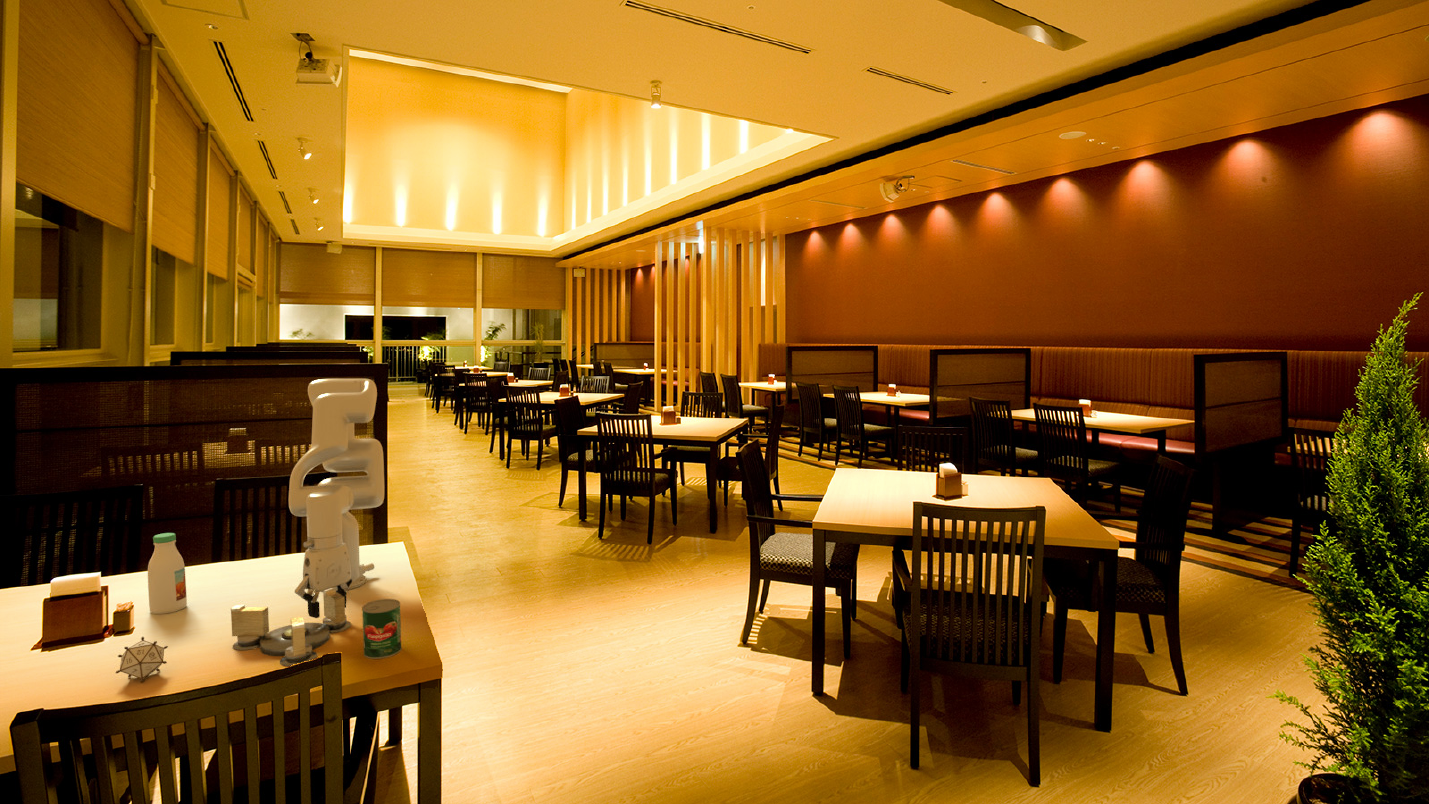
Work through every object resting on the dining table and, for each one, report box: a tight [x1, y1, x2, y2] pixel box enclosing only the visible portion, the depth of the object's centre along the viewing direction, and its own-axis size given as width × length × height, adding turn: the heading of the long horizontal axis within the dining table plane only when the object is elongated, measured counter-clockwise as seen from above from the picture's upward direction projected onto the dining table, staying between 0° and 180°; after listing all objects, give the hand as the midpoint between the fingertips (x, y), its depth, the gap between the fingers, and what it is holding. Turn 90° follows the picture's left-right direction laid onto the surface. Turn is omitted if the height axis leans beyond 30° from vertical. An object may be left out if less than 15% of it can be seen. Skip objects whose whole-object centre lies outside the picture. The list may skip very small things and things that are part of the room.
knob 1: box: [230, 604, 270, 646], centre depth 162 cm, size 7×5×8 cm
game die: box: [115, 636, 169, 683], centre depth 146 cm, size 9×8×10 cm
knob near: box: [322, 588, 348, 629], centre depth 172 cm, size 7×5×8 cm
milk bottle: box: [147, 532, 188, 615], centre depth 182 cm, size 8×8×20 cm
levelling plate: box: [232, 620, 352, 667], centre depth 166 cm, size 22×24×4 cm
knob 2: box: [284, 616, 313, 662], centre depth 155 cm, size 7×5×8 cm
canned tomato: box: [361, 598, 403, 660], centre depth 159 cm, size 8×8×11 cm
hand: (327, 611), depth 173 cm, fingers open, 6 cm apart
